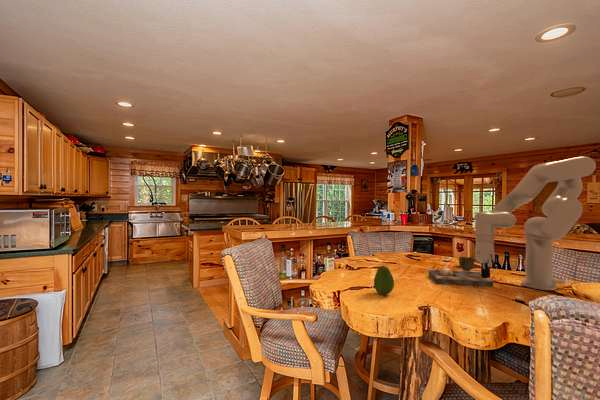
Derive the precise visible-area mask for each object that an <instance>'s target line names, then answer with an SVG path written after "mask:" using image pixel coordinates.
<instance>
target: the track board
mask: <svg viewBox="0 0 600 400" xmlns="http://www.w3.org/2000/svg"><path fill="white" fill-rule="evenodd" d="M440 270H441V269H436V268H435V269H434V268H429V269H428V277H429V278H430V279H431V280H432V281H433V282H434V283H435V285H452V286H466V287H467V286H469V287H488V288H493V287H494V279H493V278H483V277H482V276H481V270H480V271H479V270H477V271H475V270H470V271H463V270H461V269H460V270H456V269H454V270H453V269H450V270H451V271H452V273H453V277H449V276H440V275H439V271H440Z"/></svg>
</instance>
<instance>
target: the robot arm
mask: <svg viewBox="0 0 600 400" xmlns="http://www.w3.org/2000/svg"><path fill="white" fill-rule="evenodd" d="M596 168H597V164H596V162H595V160H594V159H593V158H591V157H589V156H577V157H572V158H566V159H563V160H558V161H552V162H545V163H539V164H536V165H533V166H532V167H531V168H530V169H529V170H528V172H527V173H526V174H525V175H524V176H523V178H522V179H521V180H520V181H519V183H518V184H517V185H516V186H515V187H514V188H513V189H512V191H510V192H509V193H508V194H507V195H506V196H504V197H503V198H501V200H499V201H498V202H497V204H495V206H494V207H493V209H492V210H491V211H478V212H476V213H475V214H474V215H475V216H474V223H475V225H474V228H475V230H474V231H475V235H474V236H475V246H474V250H475V251H474V259H475V261H477V262H479V263H480V264H479V266H480V268H481V269H480V272H481V276H482V277H483V278H489V279H491V268H493V264H495V261H496V257H495V256H496V255H495V245H494V243H495V228H501V229H510V228H512V227H514V226H515V225H516V223H517V217H516V216H515V215H514V214H513V213H512V212H514V211H515V210H516V209H517V208H519V207H520V206H524V205H526V204H528V203H530V202H531V201H533V200H534V199H535V198H536V197H537V196H538V195H539V193H540V192H541V191H542V190H543V188H544V187H545V186H546V185H547V184H548V183H554V182H557V185H556V187H555V189H554V190H553V191H552V193H551V194H550V195H549V196H548V198H547V199H546V200H545V201H544V202H543V205H542V206H541V211H542V213H543V215H544V216H546V217H544V216H533V217H530V218H528V219H527V220H526V221H525V222H524V224H523V225H524V226H523V231H524V236H525V277H524V279H523V280H521V281H520V283H521V285H522V286H525V287H527V288H529V289H530V288H531V289H535V290H541V291H556V290H557V289H558V286H557V285H565V284H566V281H565V279H558V278H555V277H553V273H554V271H553V269H554V267H553V263H554V261H553V259H554V258H553V257H554V247H553V241H558V240H561V239H562V238H564V237H565V236H566V235H567V233H568V232H569V231H570V230H571V229H572V228H573V226H574V225H576V223H577V222H578V221H579V219H580V218H581V216H582V214H583V210H584V207H583V204H582V202H581V201H580V200H579V197H580V196H581V194H582V191H583V187H584V186H583V181H582V178H584V177H588V176H590V175H592V174H593V173H594V172H595V170H596Z"/></svg>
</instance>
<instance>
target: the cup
mask: <svg viewBox="0 0 600 400" xmlns="http://www.w3.org/2000/svg"><path fill="white" fill-rule="evenodd" d="M458 261H459V267H460V269H462V271H473V269H474V266H475V261H476V259H475V258H473V257H471V256H469V257H468V256H458Z"/></svg>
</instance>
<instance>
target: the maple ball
mask: <svg viewBox="0 0 600 400" xmlns="http://www.w3.org/2000/svg"><path fill="white" fill-rule="evenodd" d="M439 270H440V271H439V275H440V276H449V277H453V273H452V271H451V270H452V269H450V268H448V267H442V268H441V269H439Z"/></svg>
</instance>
